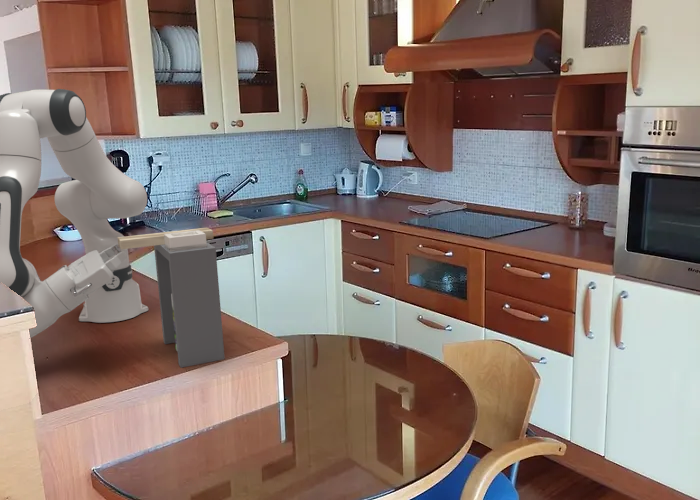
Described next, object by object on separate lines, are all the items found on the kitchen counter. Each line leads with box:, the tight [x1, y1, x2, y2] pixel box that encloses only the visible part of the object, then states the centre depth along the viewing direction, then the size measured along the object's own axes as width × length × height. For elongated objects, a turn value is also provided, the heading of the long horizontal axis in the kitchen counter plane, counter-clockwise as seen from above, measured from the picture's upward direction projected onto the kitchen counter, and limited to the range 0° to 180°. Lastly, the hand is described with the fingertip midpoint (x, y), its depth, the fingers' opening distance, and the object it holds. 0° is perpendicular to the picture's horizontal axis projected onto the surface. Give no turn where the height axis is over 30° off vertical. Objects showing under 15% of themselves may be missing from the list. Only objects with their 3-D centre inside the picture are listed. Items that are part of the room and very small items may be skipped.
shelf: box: [153, 241, 226, 368], centre depth 156 cm, size 20×10×26 cm, turn 26°
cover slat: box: [118, 227, 214, 250], centre depth 156 cm, size 5×21×2 cm, turn 116°
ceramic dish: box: [164, 230, 207, 252], centre depth 149 cm, size 6×8×3 cm
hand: (122, 249), depth 152 cm, fingers open, 8 cm apart
